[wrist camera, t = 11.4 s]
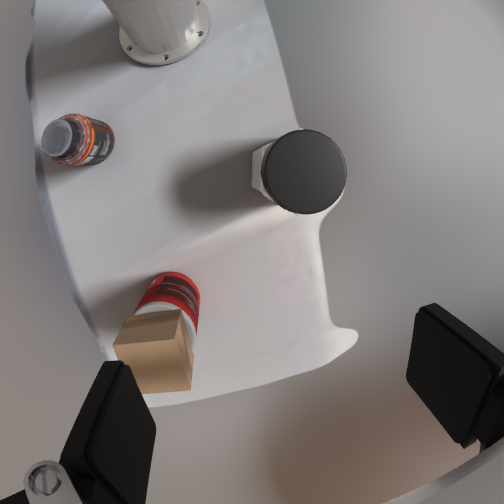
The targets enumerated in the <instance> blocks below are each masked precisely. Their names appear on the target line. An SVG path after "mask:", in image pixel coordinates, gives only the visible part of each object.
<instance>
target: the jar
mask: <svg viewBox="0 0 504 504" xmlns="http://www.w3.org/2000/svg"><path fill="white" fill-rule="evenodd" d="M346 175H347V171H346V163H345V159H344V157H343V154H342V152H341V151H340V149H339V147H338V146H337V145H336V144H335V143H334V142H333V141H332V140H331V139H330V138H329V137H327V136H326V135H324V134H322V133H320V132H317V131H313V130H306V129H302V128H301V129H298V130H295V131H292V132H289V133H287V134H285V135H283V136H281V137H279V138H278V139H276V140H275V141H273V142H271V143H269V144H267V145H265V146H263V147H261V148H259V149H257V150H255V151H253V157H252V183H251V186H252V187H253V188H254V189H256V190H257V191H259V192H261V193H262V194H263V196H265V197H266V198H268V199H270V200H271V201H273V202H274V203H276V204H277V205H279V206H280V207H282V208H283V209H285V210H286V209H287V210H288V211H290V212H293V213H294V214H296V215H299V214H314V213H318V212H321V211H323V210H325V209H327V208H328V207H330V206H331V205H332V204H333V203H334V202H335V201H336V200H337V199H338V198H339V196H340V195H341V193H342V191H343V189H344V186H345V182H346Z"/></svg>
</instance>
